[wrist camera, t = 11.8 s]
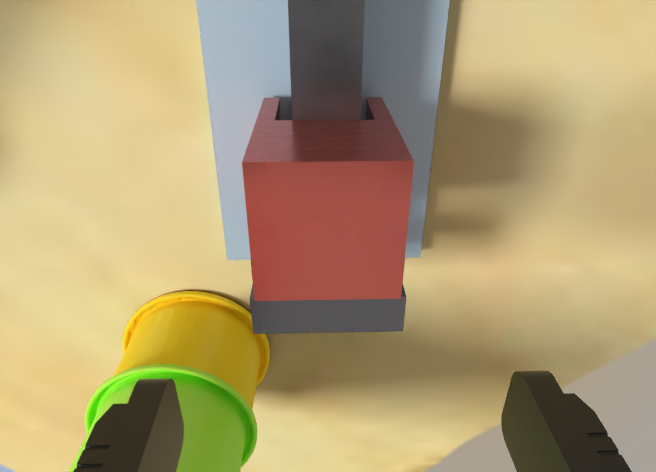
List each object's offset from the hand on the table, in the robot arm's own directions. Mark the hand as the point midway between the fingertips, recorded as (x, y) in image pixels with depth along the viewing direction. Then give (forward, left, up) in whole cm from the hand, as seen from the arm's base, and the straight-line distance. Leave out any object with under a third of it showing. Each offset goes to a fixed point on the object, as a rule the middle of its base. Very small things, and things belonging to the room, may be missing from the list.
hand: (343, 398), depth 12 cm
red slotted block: (0, 0, -17) cm, 17 cm away
